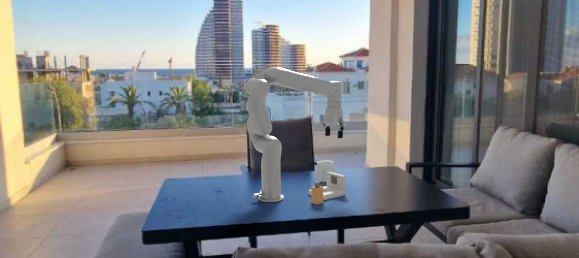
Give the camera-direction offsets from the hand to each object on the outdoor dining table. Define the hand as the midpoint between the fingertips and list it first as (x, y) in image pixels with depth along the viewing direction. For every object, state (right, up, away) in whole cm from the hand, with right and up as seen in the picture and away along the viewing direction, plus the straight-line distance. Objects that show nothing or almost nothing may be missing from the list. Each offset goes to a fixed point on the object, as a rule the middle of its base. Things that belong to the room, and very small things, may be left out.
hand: (333, 136), depth 234 cm
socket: (-5, -30, -9) cm, 31 cm away
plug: (-10, -31, -21) cm, 39 cm away
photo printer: (-3, -26, +17) cm, 31 cm away
